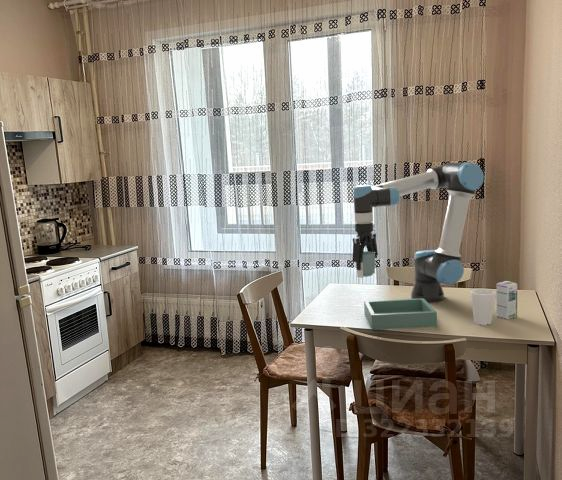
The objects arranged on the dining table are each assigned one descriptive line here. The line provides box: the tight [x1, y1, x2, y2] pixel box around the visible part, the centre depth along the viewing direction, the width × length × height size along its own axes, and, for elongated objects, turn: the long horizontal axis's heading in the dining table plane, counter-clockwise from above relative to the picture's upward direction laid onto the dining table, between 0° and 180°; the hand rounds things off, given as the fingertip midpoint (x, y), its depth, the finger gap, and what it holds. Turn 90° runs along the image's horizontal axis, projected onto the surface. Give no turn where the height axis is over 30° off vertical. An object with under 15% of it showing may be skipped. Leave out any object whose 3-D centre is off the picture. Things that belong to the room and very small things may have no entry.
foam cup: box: [469, 287, 497, 326], centre depth 202 cm, size 10×9×13 cm
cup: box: [361, 250, 376, 278], centre depth 215 cm, size 8×8×10 cm
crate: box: [363, 298, 438, 330], centre depth 212 cm, size 26×20×6 cm
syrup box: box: [496, 280, 518, 320], centre depth 208 cm, size 6×6×14 cm
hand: (366, 275), depth 215 cm, fingers closed on cup, 8 cm apart
